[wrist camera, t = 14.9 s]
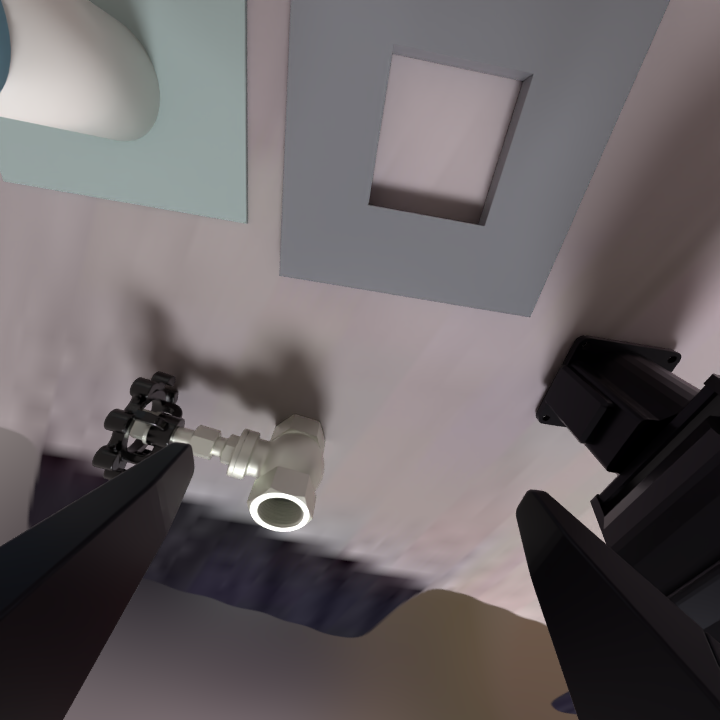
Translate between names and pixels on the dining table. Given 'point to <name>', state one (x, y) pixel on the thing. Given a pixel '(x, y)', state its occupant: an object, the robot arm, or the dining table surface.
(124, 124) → the cartridge
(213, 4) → the mat
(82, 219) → the dining table surface
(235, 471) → the valve
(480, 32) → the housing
